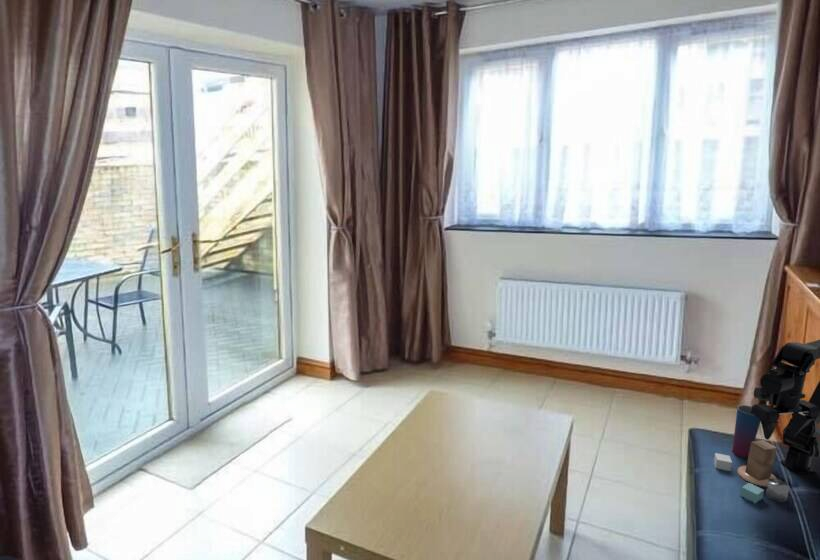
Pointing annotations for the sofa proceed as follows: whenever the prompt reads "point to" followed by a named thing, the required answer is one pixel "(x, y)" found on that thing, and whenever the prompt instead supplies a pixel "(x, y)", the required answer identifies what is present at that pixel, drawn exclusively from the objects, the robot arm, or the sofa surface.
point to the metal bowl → (777, 490)
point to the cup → (744, 430)
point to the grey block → (722, 462)
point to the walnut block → (760, 460)
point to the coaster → (752, 480)
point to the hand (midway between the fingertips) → (779, 437)
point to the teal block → (752, 492)
